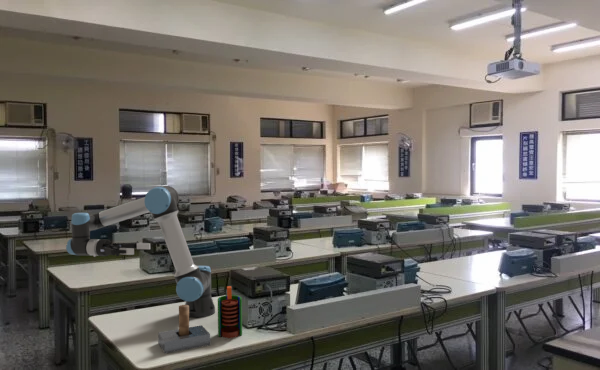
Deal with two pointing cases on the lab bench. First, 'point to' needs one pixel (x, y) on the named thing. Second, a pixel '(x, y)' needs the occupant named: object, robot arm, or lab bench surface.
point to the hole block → (183, 339)
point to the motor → (229, 315)
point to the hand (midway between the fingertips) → (142, 248)
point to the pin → (183, 320)
